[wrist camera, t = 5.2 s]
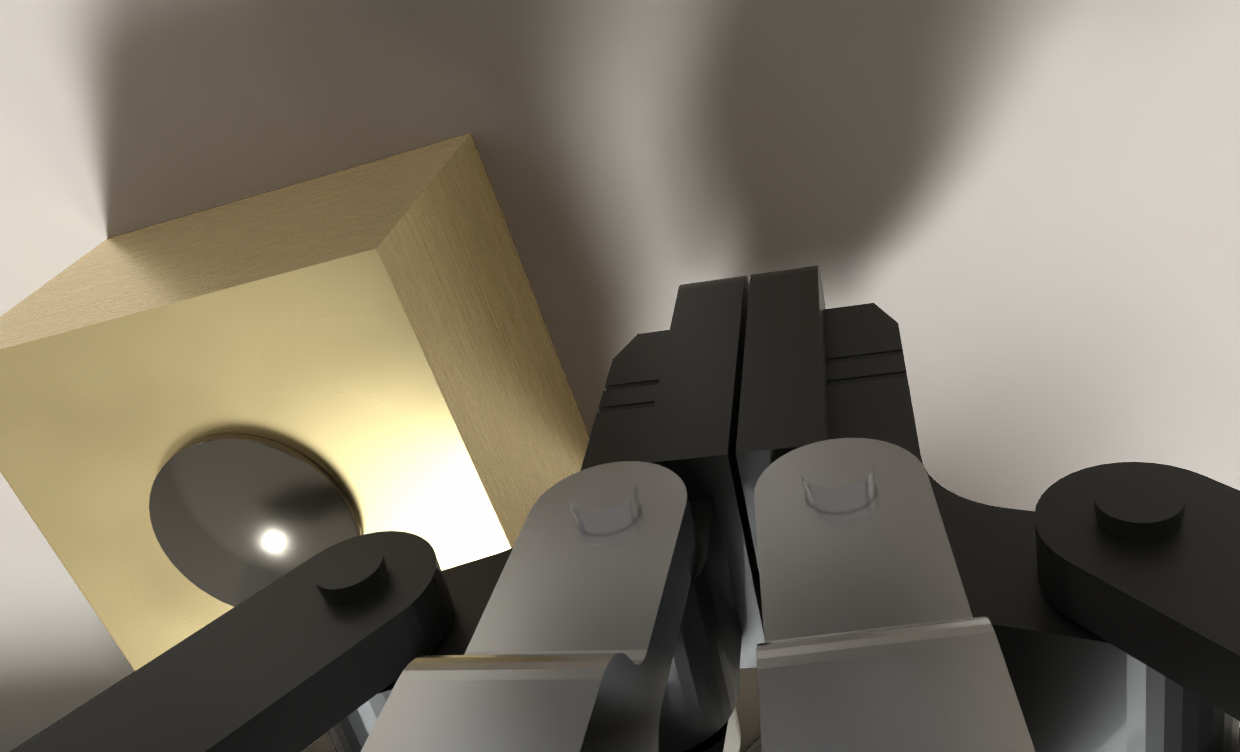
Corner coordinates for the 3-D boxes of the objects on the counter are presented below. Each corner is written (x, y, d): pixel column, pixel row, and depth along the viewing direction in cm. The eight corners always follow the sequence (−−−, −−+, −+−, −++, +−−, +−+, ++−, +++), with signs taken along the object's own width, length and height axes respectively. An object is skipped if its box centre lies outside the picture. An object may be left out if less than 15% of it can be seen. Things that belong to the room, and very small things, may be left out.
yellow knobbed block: (474, 128, 13) (370, 255, 10) (611, 480, 15) (562, 678, 12) (115, 233, 14) (-80, 376, 11) (287, 543, 16) (167, 736, 13)
